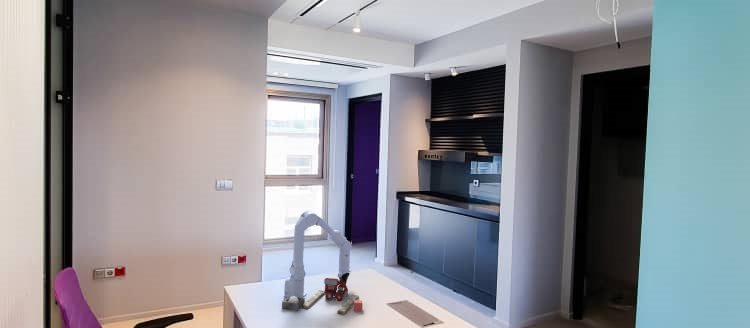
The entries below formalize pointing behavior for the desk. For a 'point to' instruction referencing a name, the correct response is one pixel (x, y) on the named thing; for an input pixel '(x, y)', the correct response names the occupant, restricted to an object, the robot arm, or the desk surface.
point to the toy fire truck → (335, 289)
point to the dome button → (293, 299)
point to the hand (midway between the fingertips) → (343, 286)
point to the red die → (357, 305)
